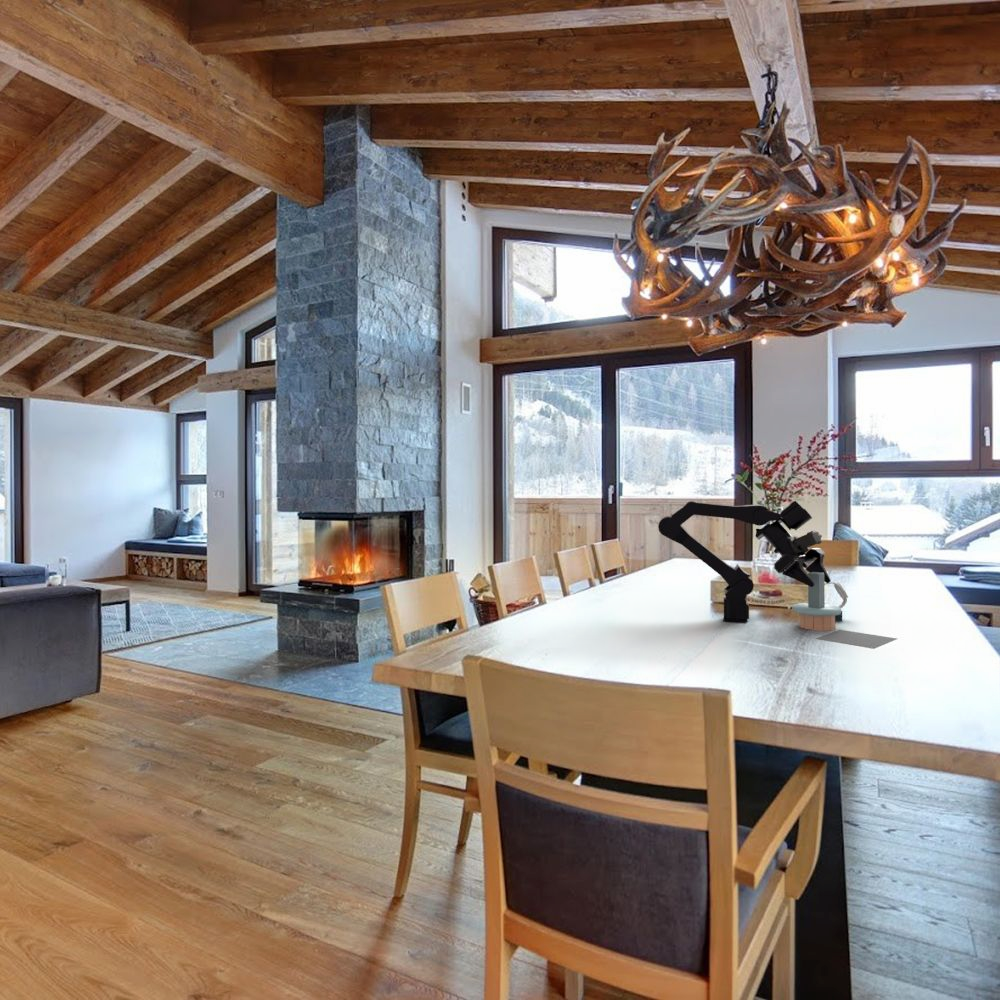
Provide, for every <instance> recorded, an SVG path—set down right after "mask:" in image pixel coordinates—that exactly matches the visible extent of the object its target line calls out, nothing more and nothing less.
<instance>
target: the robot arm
mask: <svg viewBox="0 0 1000 1000" xmlns="http://www.w3.org/2000/svg"><path fill="white" fill-rule="evenodd" d="M695 515H696V516H704V517H705V516H706V517H714V518H723V519H731V520H733V519H734V520H738V521H741V522H744V523H747V524H750V525H755V526H763V527H761V528H756V529H755V531H756V532H755V536H754V537H755V538H756V539H757V540H758V541H759V540H761V539H763V538H765V539H766V541H768V542H769V544H770V545H771V546H772V547H773V548H774V549H773V552H774V553H775V554H779V555H780V556H781V557H780V558H778V560H777V561H776V562H775V563H774V564H773V569H774V570H775V571H776V573H778V574H782V575H783V576H785V577H786V576H787V577H788V578H791V579H794V580H796V581H798V582H799V583H802V584H804V585H806V586H807V587H808V586H810V587H813V586H814V585H815V584H814V582H813V581H812V579H811V578H810V576H809V575H808V573H811V572H819V573H824V582H826V583H829V582H830V581H831V578H830V576H829V574H828V571H827V570H826V568H825V565H824V563H823V562H824V558H825V555H826V552H825V551H824V550H823V549H822V548H820V547H814V548H810V547H813V546H815V545H819V544H822V543H823V541H822V537H823V535H822V534H820V533H819V531H816V530H811V531H807V533H806V534H804V535H801V536H796V535H794V536H792V534H790V532H789V531H791V530H794V531H798V530H799V529H800V528H801V527H803V526H804V525H806V523H807V522H809V521H810V520H812V519H813V516H812V515H811V514H810V512H808V511H807V509H806V508H803V506H801V504H799V503H798V501H797V500H793V501H791V502H790V503H789V504H788V505H787V506H786V507H785V508H783V509H782V510H781V511H779V512H778V511H776V510H775V511H773V510H769V509H768V507H766V506H764V505H762V504H743V505H728V504H727V505H726V504H719V503H718V504H717V503H706V502H699V501H698V502H697V501H695V500H690V501H688V502H686V504H685V505H683V507H681V508H680V509H678V510H677V511H676V512H674V513H673V514H672V515H666V516H663V517H662V518H661V520H659V522H658V526H657V527H658V531H659V533H660V534H661V535H662V536H664V537H666V538H668V539H670V540H671V541H673V542H676V543H677V544H679V545H681V546H683V547H684V548H685V549H686V550H688V551H689V552H690V553H692V554H693V555H694V556H695V557H697V558H698V559H699V560H700V561H701V562H702V563H704V564H706V565H707V566H708V567H710V569H712V570H713V571H715V573H717V574H718V575H719V576H721V578H722V579H723V580H724V582H726V583H727V586H726V587H725V588H724V589H723V593H724V595H725V597H723V618H722V621H723V622H736V623H748V620H749V619H750V604H749V603H747V601H748V600H747V596H748V595H749V594H751V593H752V592H753V590H754V588H755V587H754V582H753V580H752V578H751V574H750V572H749V571H746V570H744V569H743V568H742V566H740V565H739V564H738V563H737V564H736V565H735V567H734V566H732V565H730V564H728V563H727V562H726V561H724V560H723V559H722V558H721V557H719V556H718V555H717V554H716V553H714V552H713V551H712V550H710V549H709V548H707V546H705V545H704V544H703V543H702V542H700V541H698V540H697V539H696V538H695V537H693V535H691V534H690V533H689V532H688V531H687V529H686V528H685V527H684V526H683V524H684V523H685V522H687V521H688V520H689V519H690V518H691V517H693V516H695ZM772 521H773V522H772ZM769 522H772V523H769ZM782 524H783V525H784V526H785V527H786V528H785V527H784V526H783V525H782ZM787 529H788V530H789V531H788V530H787Z"/></svg>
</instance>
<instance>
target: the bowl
mask: <svg viewBox="0 0 1000 1000" xmlns="http://www.w3.org/2000/svg"><path fill="white" fill-rule="evenodd" d="M798 627H799V628H802V629H806V630H812V631H821V632H822V631H824V632H825V631H833V630H835V629H836V621H835V616H812V615H804V614H799V613H798Z"/></svg>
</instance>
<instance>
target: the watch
mask: <svg viewBox="0 0 1000 1000" xmlns="http://www.w3.org/2000/svg"><path fill="white" fill-rule="evenodd" d="M828 584H832V585H833V586H834V588H835V591H836V592H837V594H838V595H839V597H840V598H841V599H842V600H843V601H842V602H841V604H839V605H838V607H840V608H841V609H843V608H844V607H845V605H847V602H848V598H849V596H848V594H847V592H846V590H845V589H844V588H843V586H842V585H841V584H840V583H839V582H835V581H830V582H829V583H826V582H825V581H824V586H825V585H828ZM835 622H843V610H841V614H840V615H835Z"/></svg>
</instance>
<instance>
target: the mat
mask: <svg viewBox="0 0 1000 1000" xmlns="http://www.w3.org/2000/svg"><path fill="white" fill-rule="evenodd" d="M814 639H816V640H820V641H826V642H833V643H839V644H843V645H844V644H845V645H850V646H857V647H863V648H868V649H873V650H874V649H877V648H879V647H882V646H884V645H886V644H888V643H889V644H890V643H892V642H894V641H896V640H898V638H896V637H891V636H890V637H889V636H883V635H877V634H870V633H864V632H859V631H857V632H856V631H851V630H844V629H837V630H836V631H832V632H828V633H827V634H823V635H821V636H818V637H815V638H814Z"/></svg>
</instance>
